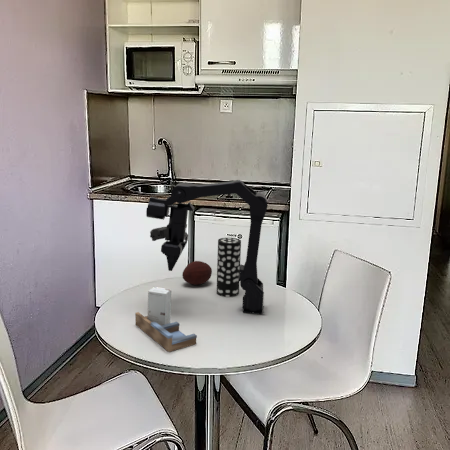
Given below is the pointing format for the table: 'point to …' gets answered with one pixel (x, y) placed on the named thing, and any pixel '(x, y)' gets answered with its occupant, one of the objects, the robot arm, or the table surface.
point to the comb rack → (165, 333)
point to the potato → (197, 273)
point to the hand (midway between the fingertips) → (172, 266)
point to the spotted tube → (228, 266)
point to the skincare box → (159, 305)
